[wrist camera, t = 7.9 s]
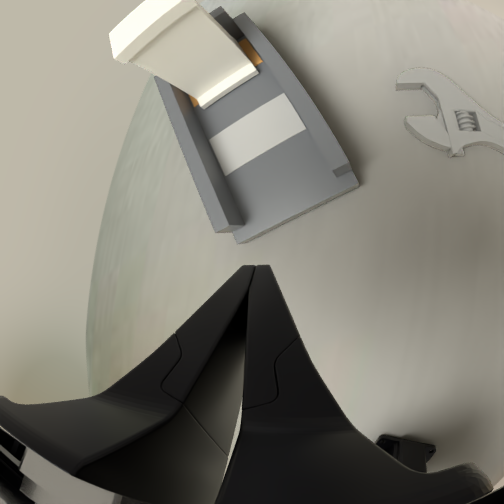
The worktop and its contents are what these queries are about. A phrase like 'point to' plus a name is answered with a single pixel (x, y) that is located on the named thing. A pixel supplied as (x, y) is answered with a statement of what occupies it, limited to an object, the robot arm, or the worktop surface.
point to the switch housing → (258, 144)
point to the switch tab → (182, 48)
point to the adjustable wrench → (450, 115)
